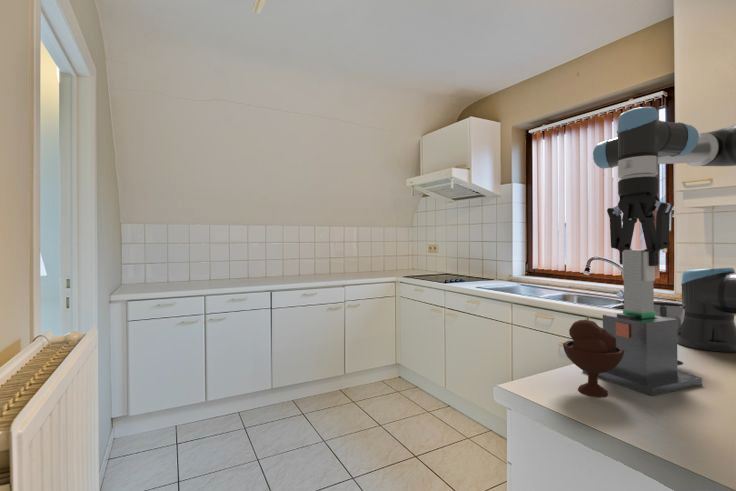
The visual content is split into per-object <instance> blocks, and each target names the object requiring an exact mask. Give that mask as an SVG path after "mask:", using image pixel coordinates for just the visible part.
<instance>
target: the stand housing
mask: <svg viewBox="0 0 736 491" xmlns="http://www.w3.org/2000/svg"><path fill="white" fill-rule="evenodd" d="M602 328H603V329H605V330H607V331H608V332H610V333H611V334H612V335H613V336H614V337H615V338H616V346H618V347H620V348H622V349H624V355H623V358H622V359H621V361H620V363H619V364H618V365H617V366H616V367H614V368H613V369H612V370H610V371H608V372H605V373H599V375H598V378H600V379H604V380H606V381H609V382H611V381H612V383H614V382H615V383H614V384H617V383H618V384H617V385H621V386H623V387H626V388H629V389H630V390H631V389H632V390H634V391H637V392H639V393H642V394H645V395H648V396H651V397H654V396H658V395H663V394H667V393H672V392H676V391H682V390H686V389H689V388H690V389H691V388H695V387H700V386H702V385H703V378H702V377H701V376H697V375H693V374H690V373H686V372H683V371H679V370H678V365H677V360H678V343H677V319H672V318H666V317H660V316H655V317H654V319H648V320H639V319H637V315H631V314H625V313H623V312H619V313H618V312H617V313H616V312H615V313H608V314H602ZM582 372H584V373H586V374H587V372H586V371H584V370H582Z"/></svg>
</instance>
